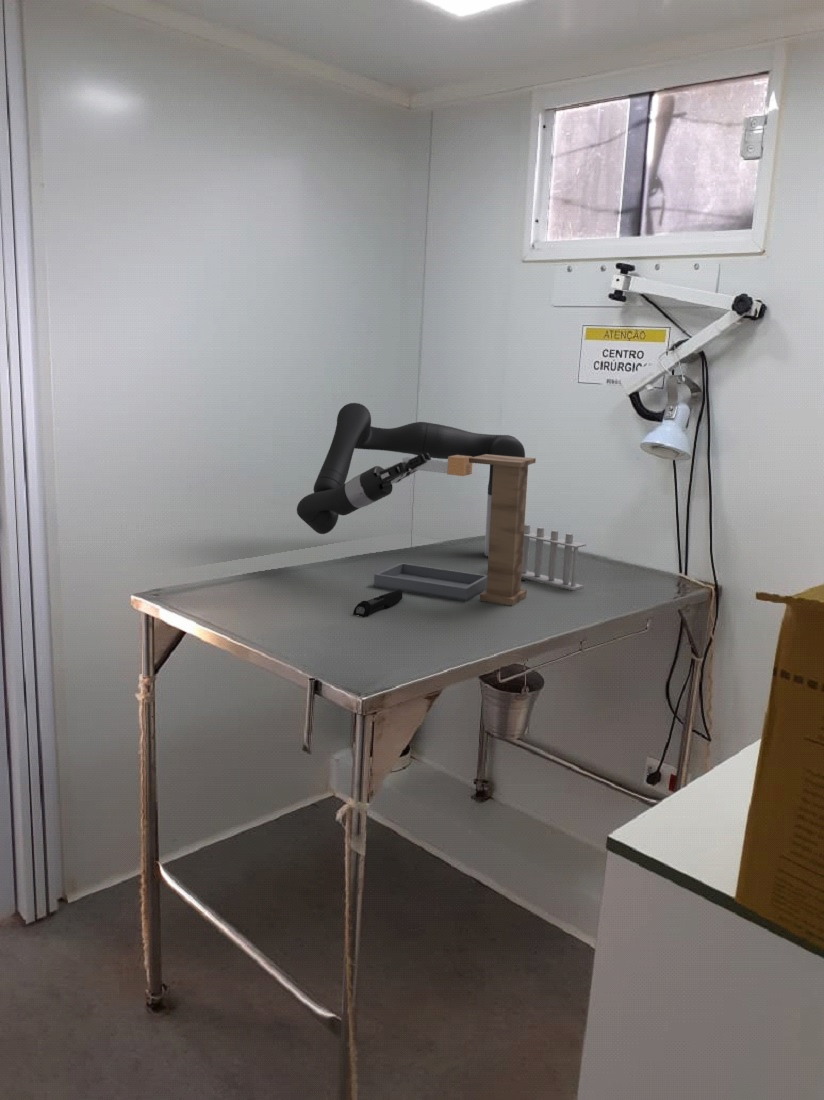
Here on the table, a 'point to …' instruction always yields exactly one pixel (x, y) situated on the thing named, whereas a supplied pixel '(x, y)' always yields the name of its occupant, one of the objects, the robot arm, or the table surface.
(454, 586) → the parts tray
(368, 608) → the electric trimmer
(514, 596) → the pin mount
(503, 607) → the table surface
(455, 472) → the lock pin
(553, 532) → the test tube rack
